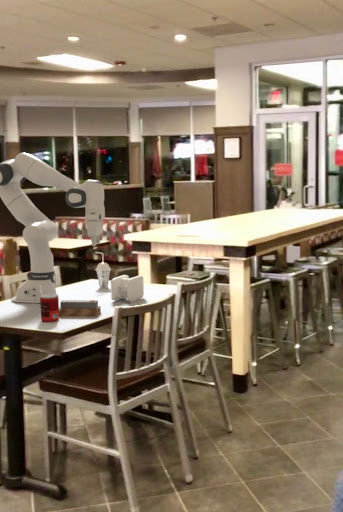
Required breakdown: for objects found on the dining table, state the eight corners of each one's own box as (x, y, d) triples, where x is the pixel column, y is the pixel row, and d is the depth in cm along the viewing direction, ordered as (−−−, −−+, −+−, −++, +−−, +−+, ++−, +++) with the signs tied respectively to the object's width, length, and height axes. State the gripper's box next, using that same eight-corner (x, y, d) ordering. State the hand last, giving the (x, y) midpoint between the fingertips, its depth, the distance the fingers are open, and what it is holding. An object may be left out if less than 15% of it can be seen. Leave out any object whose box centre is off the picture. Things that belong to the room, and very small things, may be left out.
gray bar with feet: (60, 314, 304) (60, 301, 303) (62, 312, 308) (62, 299, 307) (96, 314, 303) (96, 301, 302) (98, 312, 307) (97, 299, 306)
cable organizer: (129, 303, 328) (128, 279, 326) (110, 302, 332) (109, 278, 331) (144, 298, 341) (143, 275, 340) (125, 296, 346) (125, 273, 344)
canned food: (60, 318, 298) (59, 293, 297) (57, 322, 291) (57, 297, 289) (42, 318, 298) (41, 293, 297) (39, 322, 290) (38, 297, 289)
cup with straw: (112, 288, 368) (111, 251, 365) (95, 289, 366) (94, 252, 363) (110, 285, 376) (109, 249, 373) (93, 286, 374) (92, 250, 371)
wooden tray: (56, 316, 302) (56, 309, 302) (61, 312, 310) (61, 305, 310) (97, 316, 301) (97, 309, 300) (100, 312, 309) (100, 306, 308)
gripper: (92, 213, 328) (93, 242, 329) (84, 216, 307) (84, 247, 309) (105, 213, 327) (106, 242, 329) (97, 216, 307) (98, 247, 309)
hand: (96, 244), depth 319 cm, fingers open, 8 cm apart
